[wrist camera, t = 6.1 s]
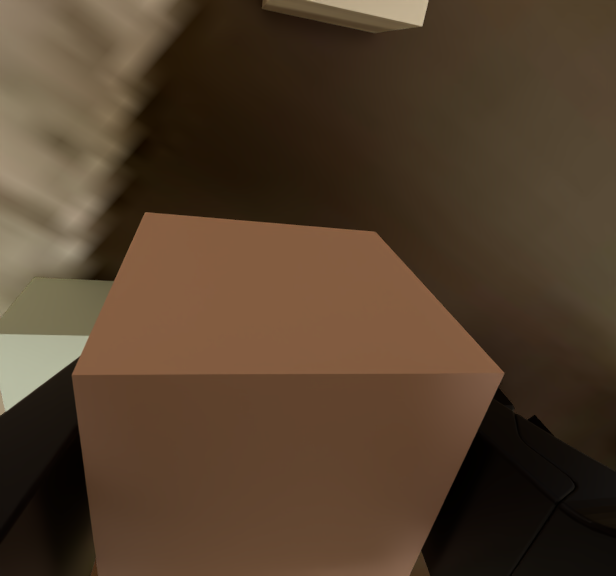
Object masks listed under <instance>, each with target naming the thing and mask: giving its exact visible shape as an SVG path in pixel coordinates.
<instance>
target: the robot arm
mask: <svg viewBox="0 0 616 576" xmlns="http://www.w3.org/2000/svg"><path fill="white" fill-rule="evenodd" d="M79 358H80V356H79V357H78V358H77V359H75V360H74V361H73V362H71V363H70V364H69V365H67V366H66V367H65V368H63V369H62V370H61V371H59V372H58V373H57V374H55V375H54V376H53V377H51V378H50V379H49V380H47V381H46V382H45V383H43V384H42V385H41V386H39V387H38V388H37V389H35V390H34V391H33V392H31V393H30V394H29V395H27V396H26V397H25V398H23V399H22V400H21V401H19V402H18V403H17V404H15V405H14V406H13V407H11V408H10V409H9V410H7V411H6V412H5V413H3V414H2V415H1V416H0V576H90V575H91V572H92V568H93V565H94V562H95V558H96V555H95V547H94V540H93V532H92V525H91V517H90V510H89V502H88V495H87V487H86V479H85V472H84V464H83V457H82V449H81V442H80V434H79V426H78V419H77V411H76V404H75V396H74V389H73V381H72V373H73V371H74V369H75V366H76V364H77V362H78V360H79ZM513 411H514V406H513V405H512V403H511V402H510V401H509V400H508V399H507V397H506V396H505V395H504V394H503V393H502V392H501V390H500V389H499V388H497V390H496V392H495V395H494V397H493V399H492V401H491V403H490V405H489V407H488V409H487V412H486V414H485V416H484V418H483V420H482V422H481V424H480V426H479V428H478V431H477V433H476V435H475V437H474V439H473V441H472V443H471V445H470V448H469V450H468V452H467V454H466V456H465V458H464V460H463V462H462V465H461V467H460V469H459V471H458V473H457V475H456V477H455V479H454V481H453V484H452V486H451V488H450V490H449V492H448V494H447V496H446V498H445V501H444V503H443V505H442V507H441V509H440V511H439V513H438V515H437V517H436V520H435V522H434V524H433V526H432V528H431V530H430V532H429V534H428V537H427V539H426V541H425V543H424V545H423V547H422V549H421V551H422V554H423V557H424V559H425V562H426V565H427V568H428V570H429V573H430V576H616V471H614V470H613V469H611V468H609V467H607V466H605V465H604V464H602V463H600V462H598V461H596V460H594V459H593V458H591V457H589V456H587V455H585V454H584V453H582V452H580V451H578V450H577V449H575V448H573V447H571V446H570V445H568V444H566V443H564V442H563V441H561V440H559V439H557V438H556V437H554V435H553V434H552V433H551V432H550V431H549V430H548V429H547V428H546V427H545V426H544V425H543V423H542V422H541V421H540V420H539V419H538V418H537V417H536V416H535V415H534V416H532V417H531V418H529V419H528V420H526V419H525V418H523V417H522V416H520V415H518V414H515V413H514V412H513Z"/></svg>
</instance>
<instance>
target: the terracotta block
mask: <svg viewBox="0 0 616 576" xmlns="http://www.w3.org/2000/svg"><path fill="white" fill-rule="evenodd" d="M503 375H504V372H503V371H502V370H501V369H500V368H499V367H498V366H497V364H496V363H495V362H494V361H493V360H492V359H491V358H490V357H489V356H488V355H487V353H486V352H485V351H484V350H483V349H482V348H481V347H480V346H479V345H478V344H477V342H476V341H475V340H474V339H473V338H472V337H471V336H470V335H469V334H468V333H467V332H466V330H465V329H464V328H463V327H462V326H461V325H460V324H459V323H458V322H457V321H456V319H455V318H454V317H453V316H452V315H451V314H450V313H449V312H448V311H447V310H446V309H445V307H444V306H443V305H442V304H441V303H440V302H439V301H438V300H437V299H436V298H435V296H434V295H433V294H432V293H431V292H430V291H429V290H428V289H427V288H426V287H425V286H424V284H423V283H422V282H421V281H420V280H419V279H418V278H417V277H416V276H415V275H414V273H413V272H412V271H411V270H410V269H409V268H408V267H407V266H406V265H405V264H404V262H403V261H402V260H401V259H400V258H399V257H398V256H397V255H396V254H395V253H394V252H393V250H392V249H391V248H390V247H389V246H388V245H387V244H386V243H385V242H384V241H383V239H382V238H381V237H380V236H379V235H378V234H377V233H376V232H372V231H361V230H349V229H337V228H325V227H313V226H302V225H290V224H278V223H266V222H254V221H243V220H231V219H219V218H207V217H196V216H184V215H172V214H160V213H148V212H145V214H144V216H143V218H142V220H141V223H140V225H139V227H138V229H137V231H136V234H135V236H134V238H133V240H132V243H131V245H130V247H129V249H128V251H127V254H126V256H125V258H124V260H123V262H122V265H121V267H120V269H119V271H118V274H117V276H116V278H115V280H114V282H113V285H112V287H111V289H110V291H109V293H108V296H107V298H106V300H105V302H104V305H103V307H102V309H101V311H100V313H99V316H98V318H97V320H96V322H95V324H94V327H93V329H92V331H91V333H90V336H89V338H88V340H87V342H86V344H85V347H84V349H83V351H82V353H81V355H80V358H79V360H78V362H77V364H76V366H75V369H74V371H73V373H72V381H73V389H74V396H75V404H76V411H77V419H78V426H79V434H80V442H81V449H82V457H83V464H84V472H85V479H86V487H87V495H88V502H89V510H90V517H91V525H92V532H93V540H94V547H95V555H96V563H97V570H98V576H409V575H410V573H411V570H412V568H413V566H414V564H415V562H416V560H417V558H418V556H419V554H420V551H421V549H422V547H423V545H424V543H425V541H426V539H427V537H428V534H429V532H430V530H431V528H432V526H433V524H434V522H435V520H436V517H437V515H438V513H439V511H440V509H441V507H442V505H443V503H444V501H445V498H446V496H447V494H448V492H449V490H450V488H451V486H452V484H453V481H454V479H455V477H456V475H457V473H458V471H459V469H460V467H461V465H462V462H463V460H464V458H465V456H466V454H467V452H468V450H469V448H470V445H471V443H472V441H473V439H474V437H475V435H476V433H477V431H478V428H479V426H480V424H481V422H482V420H483V418H484V416H485V414H486V412H487V409H488V407H489V405H490V403H491V401H492V399H493V397H494V395H495V392H496V390H497V388H498V386H499V384H500V382H501V380H502V378H503Z"/></svg>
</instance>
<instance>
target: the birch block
mask: <svg viewBox="0 0 616 576" xmlns="http://www.w3.org/2000/svg"><path fill="white" fill-rule="evenodd" d="M428 1H429V0H263V2H262V9H264V10H269V11H274V12H278V13H283V14H288V15H292V16H297V17H302V18H306V19H311V20H316V21H320V22H325V23H330V24H334V25H339V26H344V27H348V28H353V29H358V30H362V31H367V32H372V33H380V32H386V31H393V30H400V29H407V28H414V27H421V26H422V25H423V21H424V17H425V13H426V9H427V5H428Z"/></svg>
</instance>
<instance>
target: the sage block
mask: <svg viewBox="0 0 616 576" xmlns="http://www.w3.org/2000/svg"><path fill="white" fill-rule="evenodd" d="M113 282H114V281H100V280H80V279H60V278H40V277H34V278H33V280H32V281H31V282H30V283H29V284H28V286H27V287H26V288H25V289H24V290H23V292H22V293H21V294H20V295H19V296H18V298H17V299H16V300H15V301H14V303H13V304H12V305H11V306H10V307H9V309H8V310H7V311H6V312H5V313H4V315H3V316H2V317H1V318H0V390H1V394H2V399H3V403H4V407H5V412H6V411H7V410H9V409H10V408H11V407H13V406H14V405H15V404H17V403H18V402H19V401H21V400H22V399H23V398H25V397H26V396H27V395H29V394H30V393H31V392H33V391H34V390H35V389H37V388H38V387H39V386H41V385H42V384H43V383H45V382H46V381H47V380H49V379H50V378H51V377H53V376H54V375H55V374H57V373H58V372H59V371H61V370H62V369H63V368H65V367H66V366H67V365H69V364H70V363H71V362H73V361H74V360H75V359H77V358H78V357H79V356H80V355H81V353H82V351H83V349H84V347H85V344H86V342H87V340H88V338H89V336H90V333H91V331H92V329H93V327H94V324H95V322H96V320H97V318H98V316H99V313H100V311H101V309H102V307H103V305H104V302H105V300H106V298H107V296H108V293H109V291H110V289H111V287H112V285H113Z"/></svg>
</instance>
